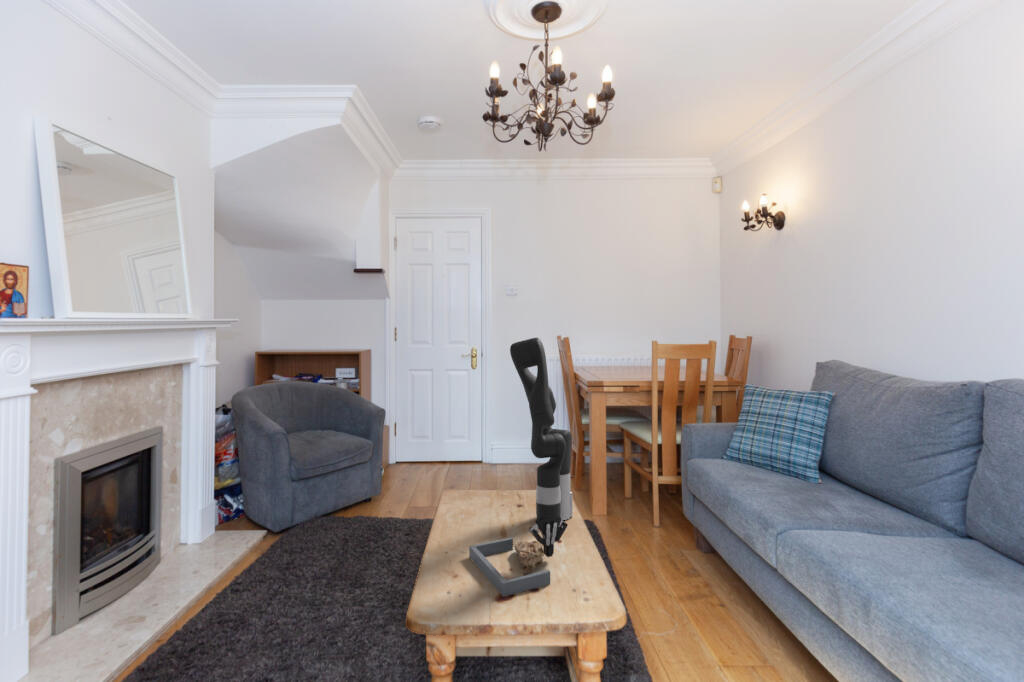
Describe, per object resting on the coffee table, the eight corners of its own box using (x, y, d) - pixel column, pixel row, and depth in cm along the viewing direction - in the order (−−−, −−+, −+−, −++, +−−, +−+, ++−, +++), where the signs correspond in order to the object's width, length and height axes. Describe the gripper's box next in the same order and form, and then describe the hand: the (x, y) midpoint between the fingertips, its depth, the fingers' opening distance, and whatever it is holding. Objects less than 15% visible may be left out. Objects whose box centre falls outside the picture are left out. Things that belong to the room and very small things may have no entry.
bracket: (511, 548, 156) (511, 537, 156) (550, 584, 133) (550, 571, 133) (469, 557, 149) (469, 546, 149) (503, 596, 127) (503, 583, 127)
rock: (557, 564, 139) (524, 560, 137) (553, 581, 139) (520, 577, 137) (543, 537, 155) (514, 533, 154) (540, 552, 156) (510, 548, 154)
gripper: (560, 492, 153) (560, 546, 153) (523, 499, 147) (523, 555, 147) (573, 499, 146) (573, 556, 146) (535, 506, 140) (535, 565, 140)
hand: (548, 555), depth 147 cm, fingers closed
